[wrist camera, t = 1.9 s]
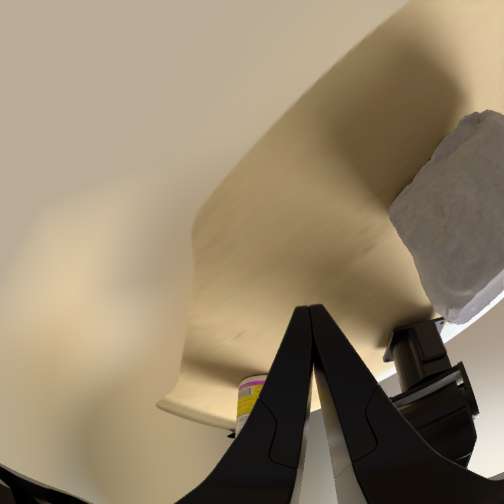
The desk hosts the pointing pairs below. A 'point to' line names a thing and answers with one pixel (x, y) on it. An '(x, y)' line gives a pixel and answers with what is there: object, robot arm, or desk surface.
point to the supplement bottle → (247, 398)
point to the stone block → (458, 218)
